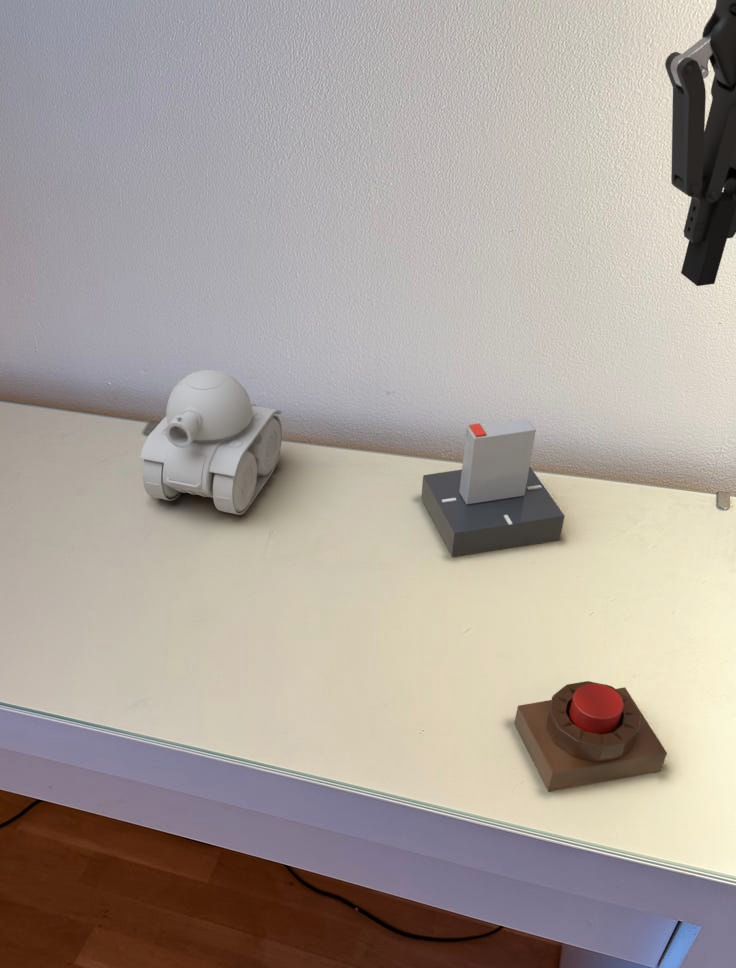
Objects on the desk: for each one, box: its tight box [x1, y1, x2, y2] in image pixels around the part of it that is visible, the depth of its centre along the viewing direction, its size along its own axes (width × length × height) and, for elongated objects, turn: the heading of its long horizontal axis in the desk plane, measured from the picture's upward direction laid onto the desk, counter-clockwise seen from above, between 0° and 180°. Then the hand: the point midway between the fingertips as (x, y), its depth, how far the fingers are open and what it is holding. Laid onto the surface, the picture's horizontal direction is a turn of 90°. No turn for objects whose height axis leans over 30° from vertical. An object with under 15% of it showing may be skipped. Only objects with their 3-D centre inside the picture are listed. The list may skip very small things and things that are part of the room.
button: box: [570, 683, 623, 734], centre depth 72 cm, size 4×4×2 cm
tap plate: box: [420, 466, 566, 558], centre depth 96 cm, size 11×10×3 cm
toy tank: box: [139, 369, 283, 516], centre depth 100 cm, size 15×11×13 cm
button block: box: [513, 680, 668, 792], centre depth 74 cm, size 9×7×4 cm
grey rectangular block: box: [459, 417, 536, 504], centre depth 92 cm, size 6×2×8 cm, turn 100°
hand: (697, 278), depth 79 cm, fingers closed
